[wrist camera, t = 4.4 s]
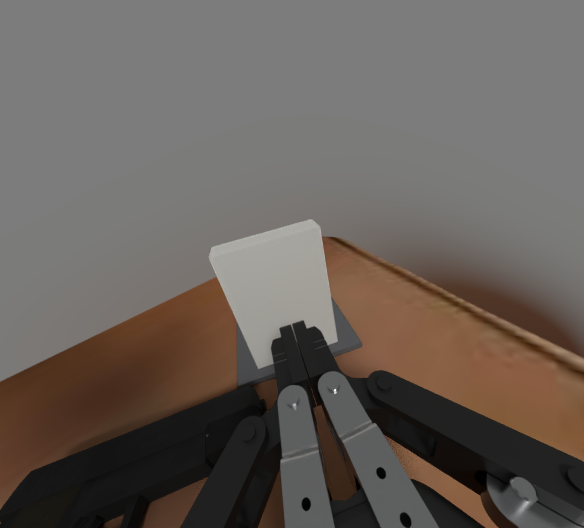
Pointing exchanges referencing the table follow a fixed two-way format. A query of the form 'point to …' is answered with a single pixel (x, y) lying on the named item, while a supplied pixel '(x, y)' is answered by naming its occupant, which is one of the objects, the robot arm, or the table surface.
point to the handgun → (130, 468)
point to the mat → (346, 343)
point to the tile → (276, 284)
